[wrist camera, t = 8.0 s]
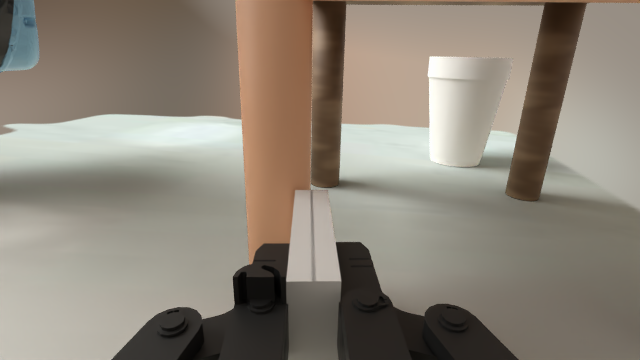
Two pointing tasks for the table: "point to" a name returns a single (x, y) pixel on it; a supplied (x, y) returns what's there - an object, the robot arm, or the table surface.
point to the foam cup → (464, 106)
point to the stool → (538, 108)
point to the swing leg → (283, 108)
